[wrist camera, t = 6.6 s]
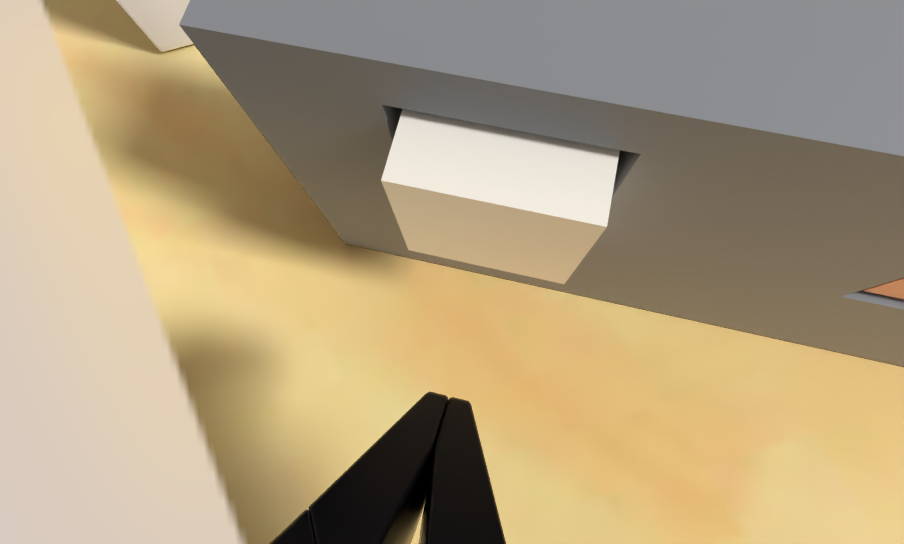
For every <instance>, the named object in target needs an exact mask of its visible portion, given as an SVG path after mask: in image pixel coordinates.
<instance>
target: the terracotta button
mask: <svg viewBox="0 0 904 544" xmlns="http://www.w3.org/2000/svg"><path fill="white" fill-rule="evenodd" d="M863 291H866V292H871V293H876V294H881V295H886V296H891V297H895V298H900V299H904V278H900V279H897V280H894V281H891V282H887V283H884V284H881V285H877V286H874V287H871V288H868V289H864V290H863Z"/></svg>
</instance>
